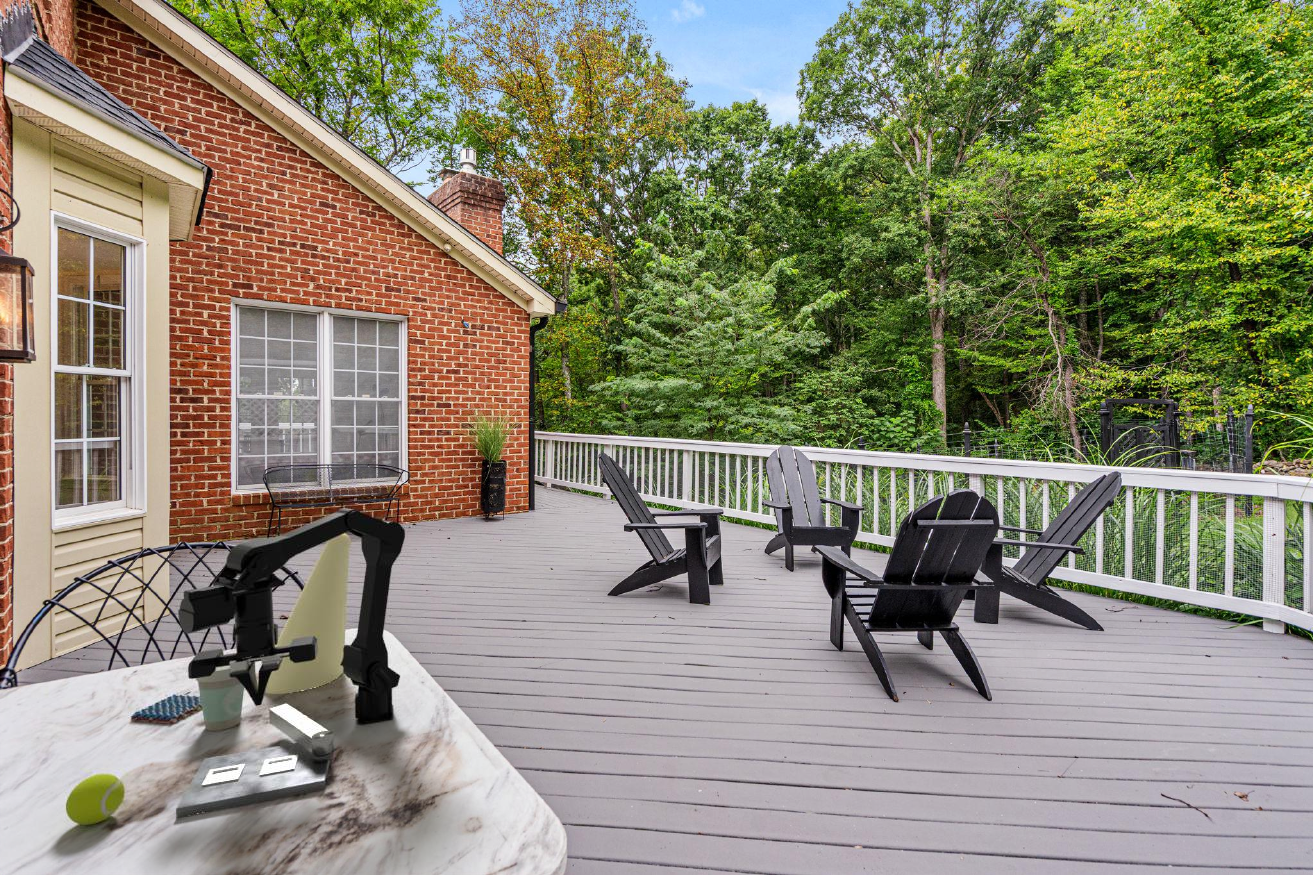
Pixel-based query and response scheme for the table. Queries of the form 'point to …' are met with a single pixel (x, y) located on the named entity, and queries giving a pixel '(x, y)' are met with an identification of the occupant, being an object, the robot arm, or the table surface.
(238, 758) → the panel
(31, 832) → the table surface
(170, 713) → the woven mat
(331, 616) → the cone light
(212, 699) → the coffee cup
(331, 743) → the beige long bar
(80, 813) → the tennis ball
